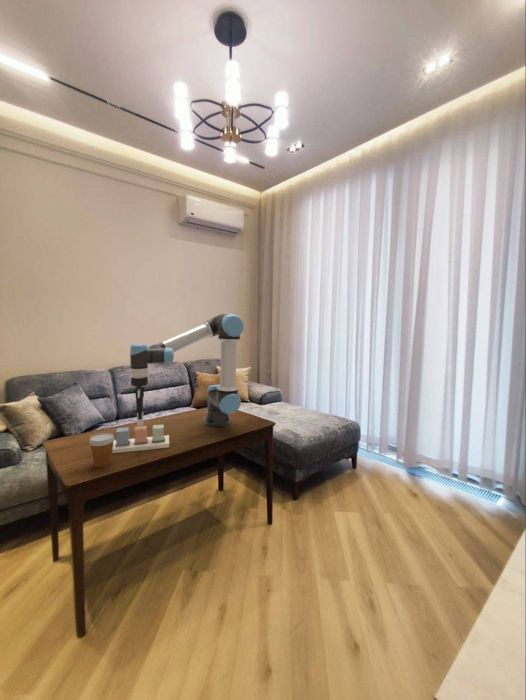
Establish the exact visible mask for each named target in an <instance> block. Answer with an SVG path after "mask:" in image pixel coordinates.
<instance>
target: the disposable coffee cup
mask: <svg viewBox="0 0 526 700" xmlns="http://www.w3.org/2000/svg"><path fill="white" fill-rule="evenodd" d="M114 440H116V437H115V436H114V434H113V433H111V432H110V433H109V432H103V433H97V434H95V435H92V436H90V438H89V441H88V443H89V445H90V450H91V455H92V460H93V463H94V467H95V468H100V469H101V468H106V467H108V466H111V464H112V458H113V454H112V450H113V441H114Z"/></svg>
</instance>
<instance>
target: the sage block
mask: <svg viewBox="0 0 526 700" xmlns="http://www.w3.org/2000/svg"><path fill="white" fill-rule="evenodd" d="M164 427H165V425H164V424H155V425H154V424H153V425H152V437H153V441H157V440H164V436H165V431H164V430H165V428H164Z"/></svg>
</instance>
